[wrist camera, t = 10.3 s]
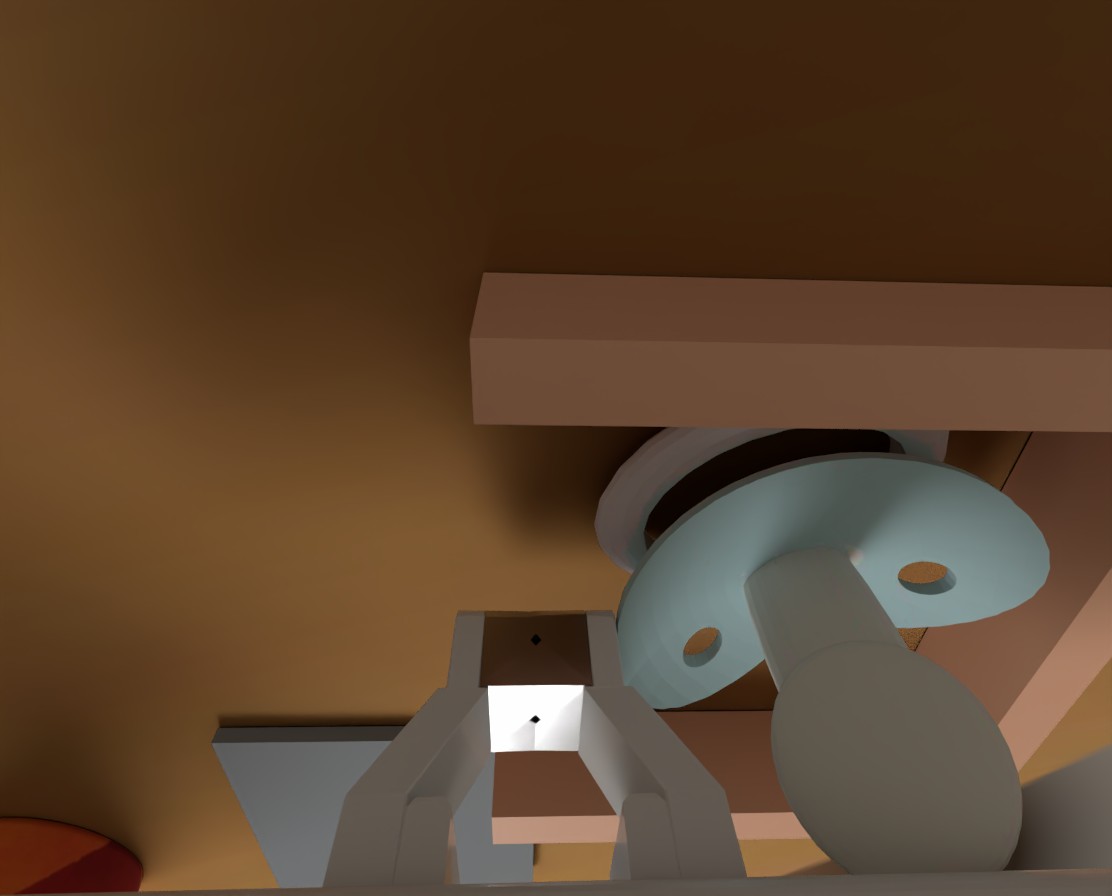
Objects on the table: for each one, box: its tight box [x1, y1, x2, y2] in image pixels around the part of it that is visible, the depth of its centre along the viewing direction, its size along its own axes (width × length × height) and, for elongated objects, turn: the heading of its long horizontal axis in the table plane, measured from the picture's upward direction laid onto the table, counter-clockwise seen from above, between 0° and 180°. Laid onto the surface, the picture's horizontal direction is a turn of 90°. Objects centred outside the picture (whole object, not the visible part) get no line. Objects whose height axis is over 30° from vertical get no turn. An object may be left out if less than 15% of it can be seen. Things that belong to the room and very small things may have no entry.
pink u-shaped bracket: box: [470, 272, 1112, 844], centre depth 12 cm, size 11×12×2 cm
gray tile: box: [211, 726, 534, 888], centre depth 18 cm, size 8×8×1 cm
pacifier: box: [594, 427, 1050, 875], centre depth 9 cm, size 7×6×6 cm
